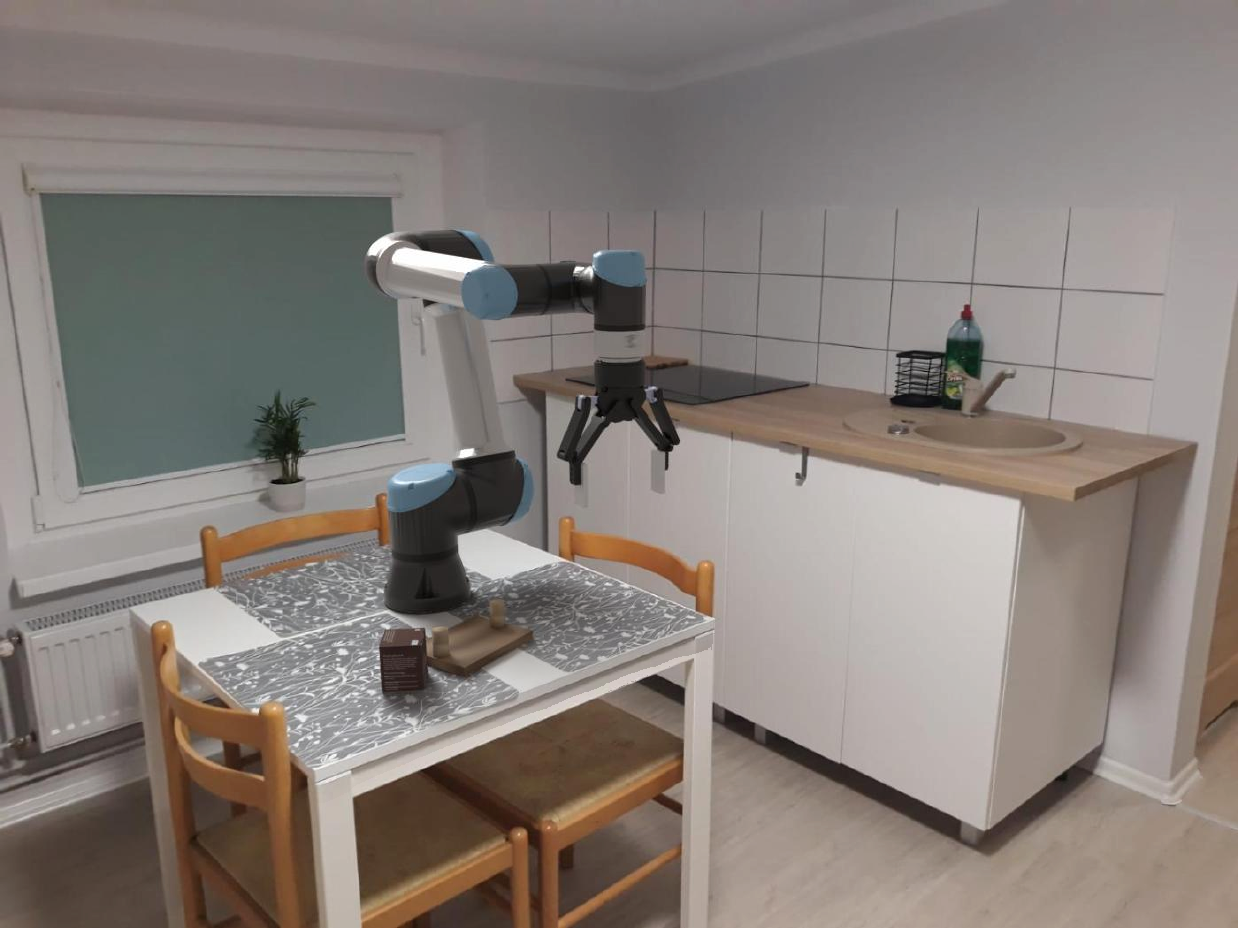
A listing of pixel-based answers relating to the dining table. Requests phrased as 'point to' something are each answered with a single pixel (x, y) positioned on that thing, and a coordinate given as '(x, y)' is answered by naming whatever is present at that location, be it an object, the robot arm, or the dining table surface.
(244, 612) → the dining table surface
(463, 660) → the rack board
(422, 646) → the box
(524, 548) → the dining table surface
